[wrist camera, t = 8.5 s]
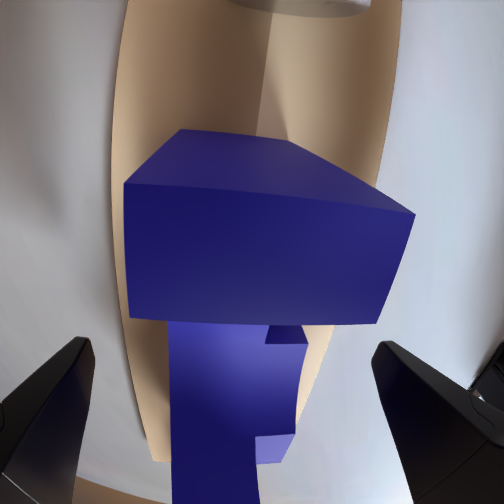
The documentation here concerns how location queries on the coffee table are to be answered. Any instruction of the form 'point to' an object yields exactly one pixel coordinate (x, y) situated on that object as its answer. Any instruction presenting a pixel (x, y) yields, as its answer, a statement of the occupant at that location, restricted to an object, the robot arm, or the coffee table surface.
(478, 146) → the coffee table surface
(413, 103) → the coffee table surface
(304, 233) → the cable clip
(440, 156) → the coffee table surface
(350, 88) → the light wooden board
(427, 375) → the robot arm
